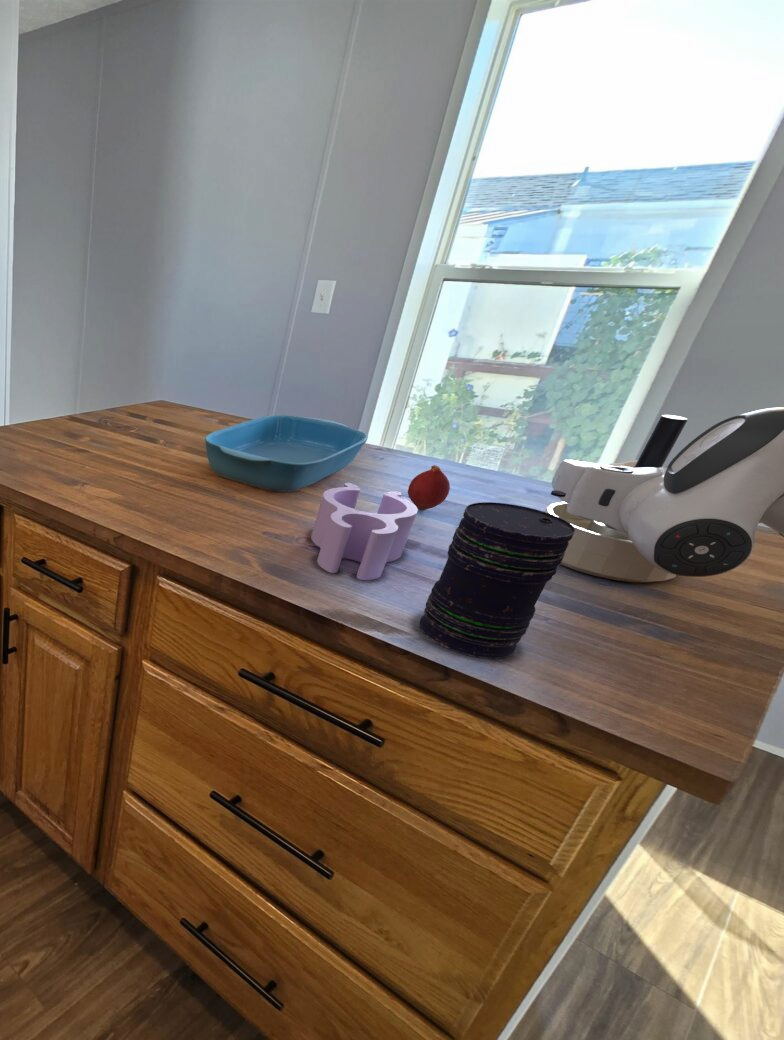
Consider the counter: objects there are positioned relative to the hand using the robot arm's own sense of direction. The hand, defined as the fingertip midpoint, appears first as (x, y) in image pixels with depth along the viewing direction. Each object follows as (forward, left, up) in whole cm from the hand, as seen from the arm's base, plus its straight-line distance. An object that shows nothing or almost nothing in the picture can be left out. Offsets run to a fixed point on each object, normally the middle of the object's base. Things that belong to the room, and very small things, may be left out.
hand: (641, 474), depth 91 cm
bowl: (0, +1, -13) cm, 13 cm away
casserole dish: (+48, -16, -13) cm, 52 cm away
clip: (+31, +18, -13) cm, 38 cm away
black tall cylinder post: (0, +1, -9) cm, 10 cm away
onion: (+23, -7, -13) cm, 27 cm away
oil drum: (+17, +37, -13) cm, 43 cm away
